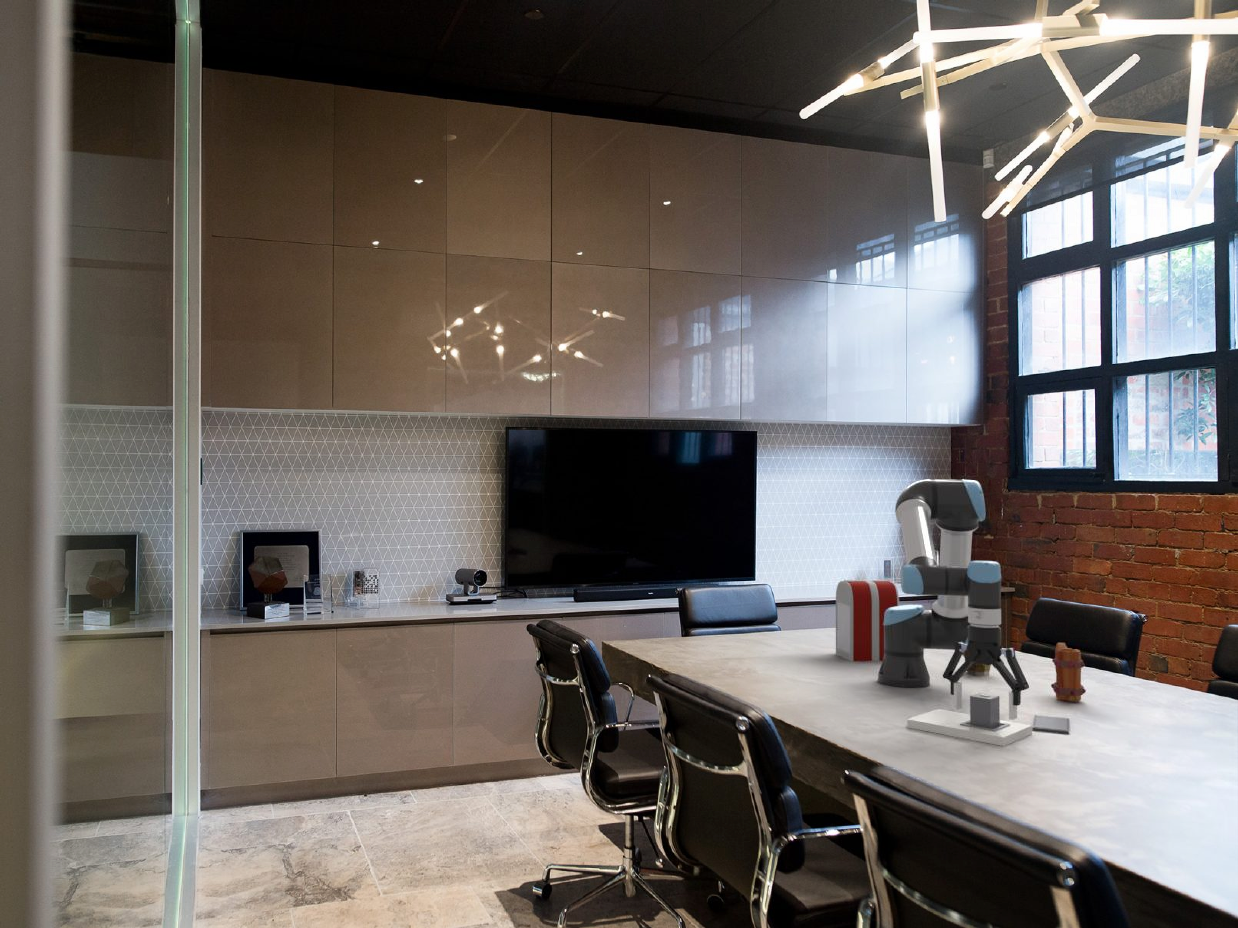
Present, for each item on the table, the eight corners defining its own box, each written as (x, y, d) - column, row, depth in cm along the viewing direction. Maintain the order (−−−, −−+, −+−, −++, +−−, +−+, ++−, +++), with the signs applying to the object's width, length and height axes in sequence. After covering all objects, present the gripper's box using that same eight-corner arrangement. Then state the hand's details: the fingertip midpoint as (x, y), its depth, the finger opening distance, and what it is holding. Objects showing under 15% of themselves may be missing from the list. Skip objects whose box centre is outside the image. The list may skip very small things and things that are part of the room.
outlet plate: (907, 727, 234) (907, 717, 234) (937, 716, 245) (937, 707, 246) (1003, 746, 217) (1003, 735, 217) (1031, 733, 228) (1031, 724, 229)
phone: (1032, 732, 232) (1032, 727, 232) (1034, 719, 245) (1034, 714, 245) (1068, 736, 228) (1068, 730, 228) (1069, 723, 242) (1069, 717, 242)
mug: (1088, 704, 260) (1088, 649, 261) (1057, 703, 262) (1056, 648, 262) (1074, 693, 275) (1074, 641, 275) (1044, 692, 276) (1044, 640, 277)
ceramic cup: (1001, 674, 304) (1001, 642, 304) (982, 677, 298) (981, 645, 298) (966, 667, 314) (965, 637, 315) (947, 670, 309) (946, 640, 309)
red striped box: (834, 653, 341) (834, 578, 342) (882, 652, 343) (881, 577, 344) (850, 661, 325) (850, 582, 326) (900, 660, 327) (900, 582, 328)
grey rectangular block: (970, 733, 229) (970, 695, 229) (979, 729, 232) (979, 692, 232) (990, 737, 225) (990, 698, 225) (999, 733, 229) (999, 695, 229)
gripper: (928, 621, 235) (928, 707, 235) (1030, 632, 218) (1031, 725, 217) (942, 618, 241) (943, 702, 240) (1043, 629, 223) (1043, 720, 222)
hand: (984, 713), depth 229 cm, fingers open, 13 cm apart
